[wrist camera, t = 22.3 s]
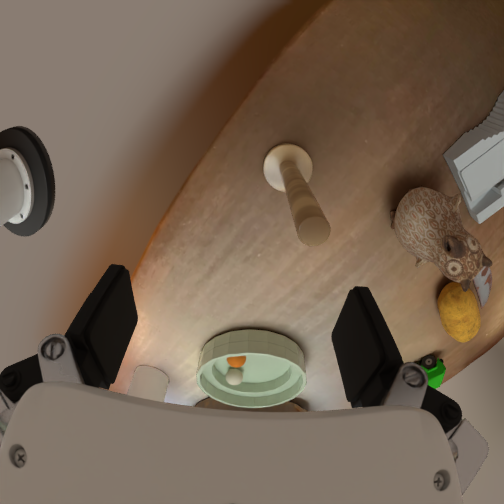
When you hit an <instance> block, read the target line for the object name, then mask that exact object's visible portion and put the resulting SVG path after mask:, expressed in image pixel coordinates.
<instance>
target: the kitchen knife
mask: <svg viewBox="0 0 504 504" xmlns="http://www.w3.org/2000/svg"><path fill="white" fill-rule="evenodd" d="M473 282H474V285H475V288H476V291H477V294H478V297H479V300H480V303H481V308H483V306H484V305H485V303H486V302H487V300H488V297H489V294H490V290H491V285H492V275H491V270H490V268H489V267H484V268H483V269H482V270H481V271H480V272H479V274H478V275H477V276H476V277H475V278H474V279H473Z"/></svg>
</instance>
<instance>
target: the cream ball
mask: <svg viewBox="0 0 504 504" xmlns="http://www.w3.org/2000/svg"><path fill="white" fill-rule="evenodd" d="M225 378H226V381H227V382H228V383H229V384H231V385H238V384H240V383H241V382H242V380H243V374H242V372H241V371H240V370H238V369H235V368H233V369H230V370H228V371H227V373H226V376H225Z"/></svg>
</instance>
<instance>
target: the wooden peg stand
mask: <svg viewBox="0 0 504 504" xmlns="http://www.w3.org/2000/svg"><path fill="white" fill-rule="evenodd" d="M263 172H264V176H265V178H266V180H267V182H268V183H269V184H270V185H271V186H272V187H273V188H275V189H276V190H279V191H282V192H286V195H287V198H288V202H289V205H290V209H291V212H292V216H293V220H294V223H295V227H296V231H297V234H298V237H299V239H300V241H301V242H302V243H304V244H305V245H308V246H318V245H320V244H322V243H324V242H325V241H326V240H327V239H328V237H329V235H330V225H329V223H328V221H327V219H326V217H325V215H324V213H323V211H322V209H321V208H320V206H319V204H318V202H317V200H316V198H315V197H314V195H313V193H312V191H311V190H310V188H309V186H308V184H307V183H308V182H309V180H310V178H311V176H312V172H313V165H312V161H311V158H310V157H309V155H308V154H307V153H306V151H304V150H303V149H302V148H301V147H299V146H297V145H294V144H289V143H287V144H280V145H277V146H275V147H274V148H272V149H271V150H270V151H269V152H268V153H267V155H266V157H265V159H264V163H263Z"/></svg>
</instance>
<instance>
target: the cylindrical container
mask: <svg viewBox="0 0 504 504" xmlns="http://www.w3.org/2000/svg"><path fill="white" fill-rule="evenodd" d="M168 383H169V378H168V376H167V375H166V374H165V373H164V372H162V371H160V370H159V369H157V368H154V367H151V366H138V367H137V368H136V370H135V373H134V375H133V378H132V381H131V384H130V387H129V390H128V393H127V395H130V396H135V397H139V398H144V399H149V400H154V401H159V402H164V399H165V395H166V391H167V387H168Z"/></svg>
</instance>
